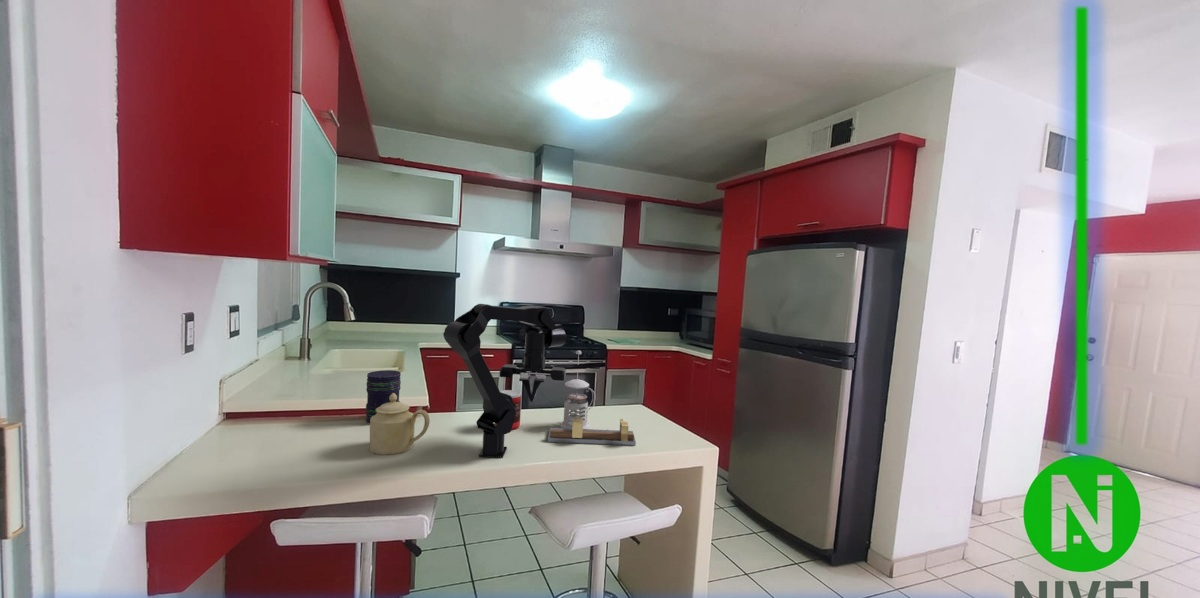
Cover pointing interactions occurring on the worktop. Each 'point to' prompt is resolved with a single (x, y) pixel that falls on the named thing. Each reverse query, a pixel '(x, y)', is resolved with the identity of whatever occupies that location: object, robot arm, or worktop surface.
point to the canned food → (517, 401)
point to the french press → (575, 406)
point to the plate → (590, 440)
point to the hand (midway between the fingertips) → (531, 401)
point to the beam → (599, 433)
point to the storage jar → (381, 390)
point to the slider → (577, 428)
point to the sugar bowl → (394, 428)
